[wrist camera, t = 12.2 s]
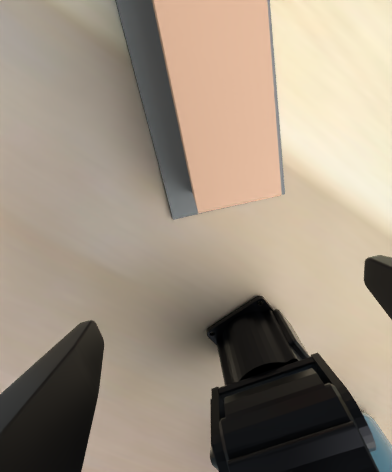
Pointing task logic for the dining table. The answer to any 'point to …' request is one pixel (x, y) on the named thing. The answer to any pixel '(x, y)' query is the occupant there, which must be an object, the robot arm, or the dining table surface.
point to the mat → (166, 102)
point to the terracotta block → (222, 97)
